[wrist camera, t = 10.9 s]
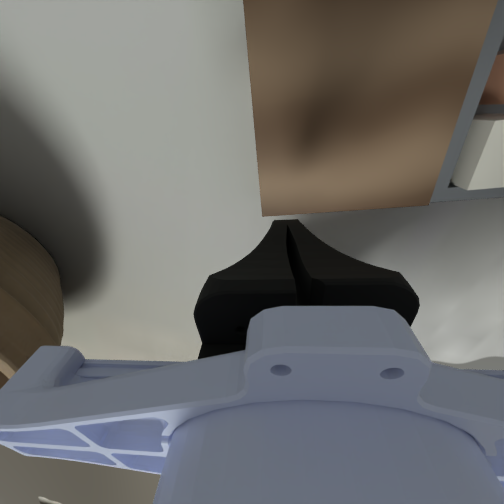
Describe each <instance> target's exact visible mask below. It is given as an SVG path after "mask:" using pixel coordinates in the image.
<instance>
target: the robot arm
mask: <svg viewBox="0 0 504 504" xmlns="http://www.w3.org/2000/svg"><path fill="white" fill-rule="evenodd" d="M419 306H420V304H419V298H418V296H417V295H416V293H415V292H414V290H413V289H412V287H411V286H410V285H409V283H408V282H407V281H406V279H405V278H404V277H403V276H402V275H401V274H400V272H396V271H392V270H388V269H384V268H380V267H376V266H373V265H370V264H367V263H364V262H361V261H359V260H356V259H354V258H351V257H349V256H347V255H345V254H343V253H341V252H339V251H337V250H335V249H333V248H332V247H330V246H328V245H327V244H325V243H324V242H322V241H321V240H320V239H318V238H317V237H316V236H315V235H313V234H312V233H311V232H310V231H309V230H308V229H307V228H306V227H305V226H304V225H303V224H302V223H301V222H300V221H299V220H298V219H293V220H274V221H273V222H272V225H271V227H270V229H269V231H268V232H267V234H266V235H265V237H264V238H263V240H262V241H261V242H260V243H259V245H258V246H257V247H256V248H255V249H254V250H253V251H252V252H251V253H250V254H248V255H247V256H246V257H244V258H243V259H242V260H240V261H239V262H237V263H235V264H234V265H232V266H230V267H228V268H226V269H224V270H222V271H219V272H217V273H214V274H212V275H210V276H209V277H208V279H207V281H206V283H205V284H204V286H203V288H202V290H201V292H200V295H199V298H198V300H197V303H196V306H195V310H194V319H195V323H196V326H197V329H198V332H199V335H200V338H201V341H202V346H201V350H200V353H199V357H198V359H197V360H192V361H187V362H170V361H132V360H94V359H85V358H84V356H83V355H82V353H81V352H80V351H79V350H77V349H76V348H73V347H70V346H40V347H39V349H38V350H37V351H36V352H35V353H34V354H33V355H32V356H31V357H30V358H29V359H28V360H27V361H26V362H25V363H24V364H23V366H22V367H21V368H20V369H19V370H18V371H17V372H16V373H15V374H14V375H13V376H12V377H11V378H10V379H9V380H8V382H7V383H6V384H5V385H4V386H3V387H2V388H1V389H0V444H2V445H4V446H6V447H8V448H10V449H12V450H14V451H16V452H18V453H20V454H23V455H25V456H35V457H46V458H56V459H64V460H72V461H79V462H86V463H92V464H99V465H106V466H112V467H118V468H124V469H131V470H136V471H142V472H148V473H154V474H160V475H161V477H160V480H159V484H158V487H157V491H156V494H155V498H154V501H153V504H504V370H471V369H458V368H453V367H450V366H445V365H441V364H437V363H433V362H431V360H430V358H429V357H428V355H427V354H426V352H425V350H424V349H423V347H422V346H421V344H420V342H419V341H418V339H417V337H416V336H415V334H414V333H413V331H412V329H411V328H410V327H411V325H412V323H413V321H414V319H415V317H416V315H417V313H418V309H419Z"/></svg>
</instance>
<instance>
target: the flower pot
mask: <svg viewBox="0 0 504 504" xmlns="http://www.w3.org/2000/svg"><path fill="white" fill-rule="evenodd" d="M63 320H64V307H63V297H62V290H61V285H60V274H59V271H58V268H57V266H56V264H55V262H54V260H53V259H52V257H51V256H50V254H49V253H48V252H47V250H46V249H45V248H44V247H43V246H42V245H41V244H40V243H39V242H38V241H37V240H36V239H35V238H34V237H33V236H31V235H30V234H29V233H28V232H26V231H25V230H24V229H22V228H21V227H19V226H18V225H16V224H15V223H13V222H11V221H9V220H8V219H6V218H4V217H2V216H0V389H1V388H2V387H3V386H4V385H5V384H6V383H7V382H8V380H9V379H10V378H11V377H12V376H13V375H14V374H15V373H16V372H17V371H18V370H19V369H20V368H21V367H22V366H23V364H24V363H25V362H26V361H27V360H28V359H29V358H30V357H31V356H32V355H33V354H34V353H35V352H36V351H37V350H38V349H39V347H40V346H60V345H61V340H62V336H63Z"/></svg>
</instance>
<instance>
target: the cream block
mask: <svg viewBox="0 0 504 504" xmlns="http://www.w3.org/2000/svg"><path fill="white" fill-rule="evenodd" d="M450 183H451V184H453V185H455V186H458V187H460V188H463V189H465V190H478V189H489V188H501V187H504V114H494V113H486V114H478V115H474V118H473V120H472V123H471V126H470V129H469V131H468V134H467V137H466V139H465V142H464V145H463V147H462V150H461V153H460V156H459V158H458V161H457V164H456V166H455V169H454V172H453V175H452V177H451V180H450Z"/></svg>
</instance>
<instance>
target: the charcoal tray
mask: <svg viewBox="0 0 504 504" xmlns="http://www.w3.org/2000/svg"><path fill="white" fill-rule="evenodd" d="M503 49H504V0H498V2H497V5H496V8H495V11H494V13H493V16H492V19H491V22H490V25H489V28H488V31H487V34H486V37H485V40H484V43H483V46H482V49H481V52H480V55H479V58H478V61H477V64H476V67H475V70H474V73H473V76H472V79H471V82H470V85H469V87H468V90H467V93H466V96H465V99H464V102H463V105H462V108H461V111H460V114H459V117H458V120H457V123H456V126H455V129H454V132H453V135H452V138H451V141H450V144H449V147H448V150H447V153H446V156H445V158H444V161H443V164H442V167H441V170H440V173H439V176H438V179H437V182H436V185H435V188H434V191H433V194H432V197H431V200H430V202H443V201H458V200H472V199H486V198H501V197H504V187H501V188H489V189H478V190H465V189H463V188H460V187H458V186H455V185H453V184H451V183H450V180H451V177H452V175H453V172H454V169H455V166H456V164H457V161H458V158H459V156H460V153H461V150H462V147H463V145H464V142H465V139H466V137H467V134H468V131H469V129H470V126H471V123H472V120H473V118H474V115H478V114H486V113H494V114H504V104H487V105H478V104H479V102H480V99H481V96H482V93H483V91H484V88H485V85H486V83H487V80H488V77H489V74H490V72H491V69H492V66H493V64H494V61H495V58H496V56H497V53H498V51H501V50H503Z"/></svg>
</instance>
